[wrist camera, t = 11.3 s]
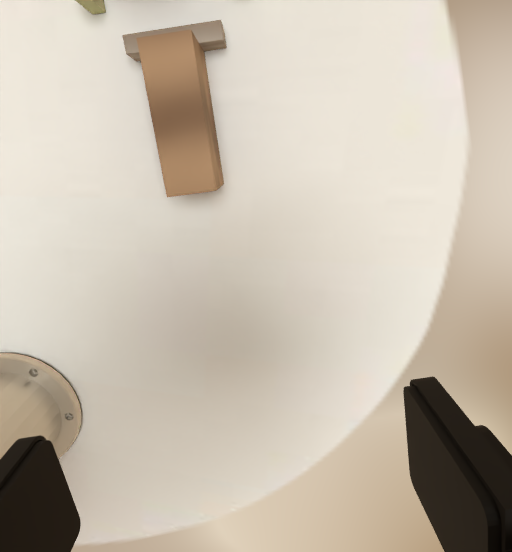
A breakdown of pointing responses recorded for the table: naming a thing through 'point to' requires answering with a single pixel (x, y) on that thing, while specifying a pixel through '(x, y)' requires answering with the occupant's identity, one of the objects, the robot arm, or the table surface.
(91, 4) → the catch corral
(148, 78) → the scraper
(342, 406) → the table surface
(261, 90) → the table surface
